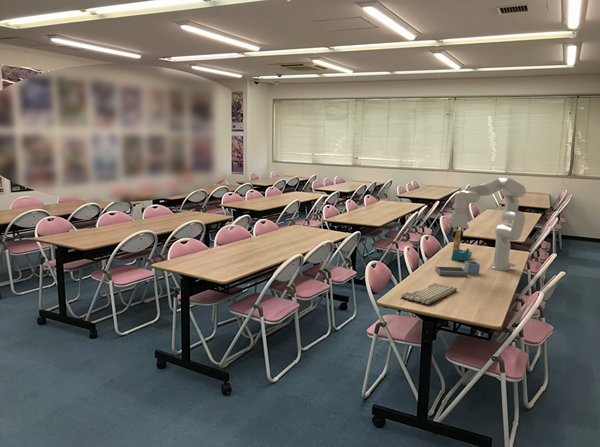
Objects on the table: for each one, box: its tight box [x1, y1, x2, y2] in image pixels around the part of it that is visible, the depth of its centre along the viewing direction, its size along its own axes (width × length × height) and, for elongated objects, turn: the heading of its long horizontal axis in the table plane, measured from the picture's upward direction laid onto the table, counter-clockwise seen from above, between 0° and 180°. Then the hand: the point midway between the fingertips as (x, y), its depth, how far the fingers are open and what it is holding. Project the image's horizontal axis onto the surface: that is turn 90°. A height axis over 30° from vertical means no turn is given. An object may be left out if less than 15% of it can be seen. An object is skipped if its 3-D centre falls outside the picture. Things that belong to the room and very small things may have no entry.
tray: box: [434, 265, 468, 278], centre depth 315 cm, size 18×12×3 cm, turn 88°
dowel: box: [452, 229, 461, 250], centre depth 312 cm, size 4×4×13 cm
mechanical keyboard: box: [399, 282, 458, 307], centre depth 270 cm, size 38×19×3 cm, turn 138°
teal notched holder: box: [450, 247, 473, 262], centre depth 356 cm, size 18×11×10 cm, turn 149°
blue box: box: [463, 260, 481, 275], centre depth 318 cm, size 8×8×7 cm
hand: (457, 237), depth 311 cm, fingers closed on dowel, 4 cm apart
